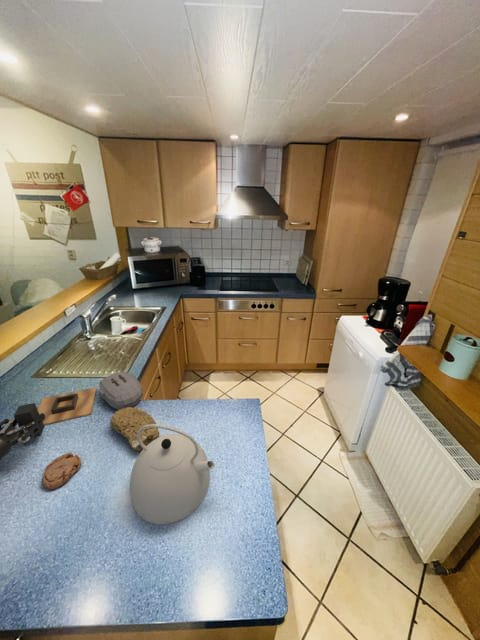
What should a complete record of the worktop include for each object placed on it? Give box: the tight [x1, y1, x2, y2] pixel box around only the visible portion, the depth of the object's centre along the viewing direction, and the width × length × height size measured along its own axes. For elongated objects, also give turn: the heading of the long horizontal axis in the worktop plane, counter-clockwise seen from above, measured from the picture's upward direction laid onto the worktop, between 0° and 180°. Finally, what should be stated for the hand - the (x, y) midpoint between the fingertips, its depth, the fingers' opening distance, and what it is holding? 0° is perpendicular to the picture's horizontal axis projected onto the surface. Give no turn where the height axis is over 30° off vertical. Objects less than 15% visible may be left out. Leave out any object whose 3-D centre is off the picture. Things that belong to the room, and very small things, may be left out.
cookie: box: [42, 452, 82, 490], centre depth 76 cm, size 10×11×3 cm
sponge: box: [109, 406, 161, 451], centre depth 89 cm, size 13×8×20 cm
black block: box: [13, 402, 46, 439], centre depth 84 cm, size 4×4×11 cm
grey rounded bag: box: [98, 370, 144, 411], centre depth 106 cm, size 15×8×20 cm
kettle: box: [129, 423, 216, 525], centre depth 70 cm, size 25×23×22 cm
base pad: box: [37, 387, 97, 426], centre depth 101 cm, size 20×16×3 cm
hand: (35, 413), depth 86 cm, fingers closed on black block, 6 cm apart
